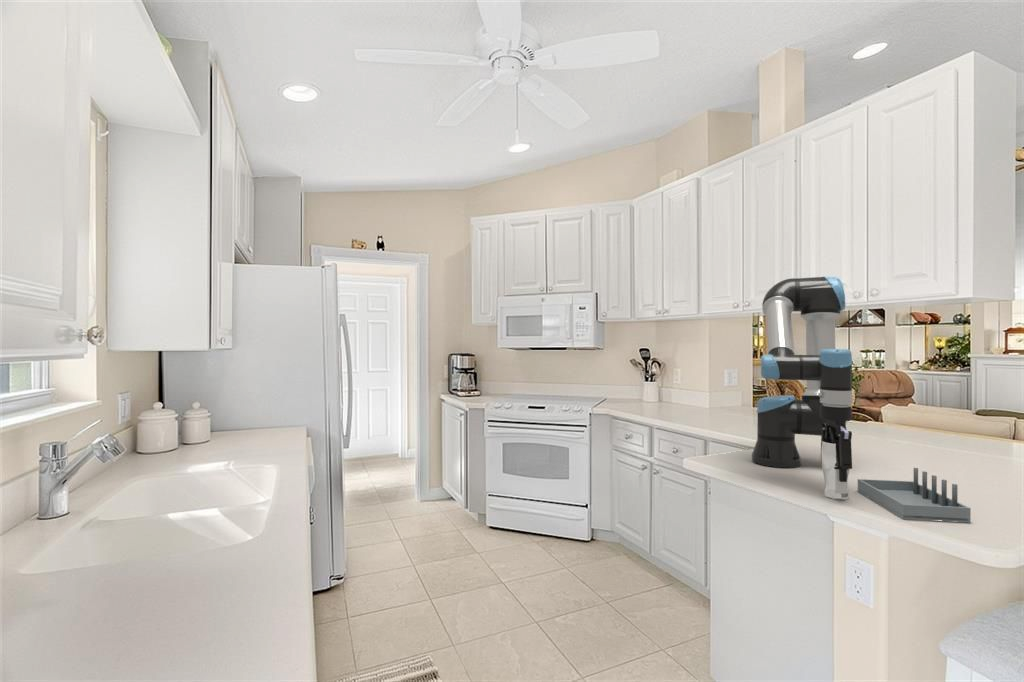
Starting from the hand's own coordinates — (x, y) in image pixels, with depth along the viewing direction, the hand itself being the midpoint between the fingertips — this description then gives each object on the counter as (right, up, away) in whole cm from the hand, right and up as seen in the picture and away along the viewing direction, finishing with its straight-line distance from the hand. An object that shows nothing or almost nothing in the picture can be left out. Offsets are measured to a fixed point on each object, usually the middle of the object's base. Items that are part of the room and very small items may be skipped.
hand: (835, 489), depth 142 cm
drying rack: (+14, -2, -8) cm, 16 cm away
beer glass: (0, -2, 0) cm, 2 cm away
